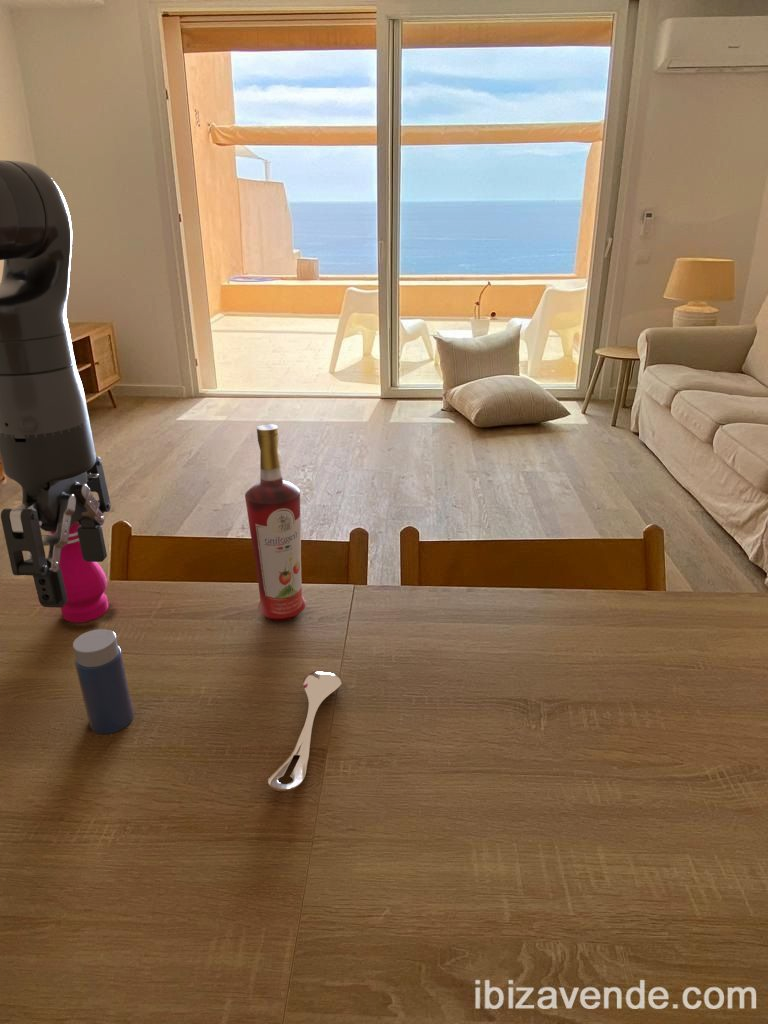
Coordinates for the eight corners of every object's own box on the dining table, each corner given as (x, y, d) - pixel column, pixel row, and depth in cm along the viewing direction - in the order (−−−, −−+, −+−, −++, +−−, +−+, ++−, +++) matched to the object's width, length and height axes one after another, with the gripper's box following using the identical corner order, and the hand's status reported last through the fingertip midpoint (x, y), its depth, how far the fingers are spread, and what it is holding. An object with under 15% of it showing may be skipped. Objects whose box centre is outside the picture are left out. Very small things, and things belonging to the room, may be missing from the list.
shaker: (82, 733, 78) (62, 653, 74) (99, 705, 82) (82, 627, 78) (124, 734, 78) (107, 653, 73) (139, 706, 82) (124, 628, 78)
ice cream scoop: (301, 776, 67) (254, 770, 67) (302, 805, 68) (256, 799, 69) (347, 662, 85) (309, 658, 86) (347, 686, 86) (310, 683, 87)
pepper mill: (117, 614, 101) (92, 486, 93) (65, 630, 97) (34, 499, 89) (105, 593, 106) (80, 471, 98) (54, 608, 103) (24, 482, 94)
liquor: (299, 595, 105) (286, 416, 93) (314, 619, 99) (303, 431, 87) (251, 606, 102) (232, 423, 91) (264, 631, 96) (245, 439, 85)
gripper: (40, 396, 67) (72, 547, 73) (-53, 444, 54) (-4, 622, 60) (117, 397, 66) (142, 548, 73) (42, 445, 53) (81, 624, 60)
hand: (76, 581), depth 67 cm, fingers open, 8 cm apart
